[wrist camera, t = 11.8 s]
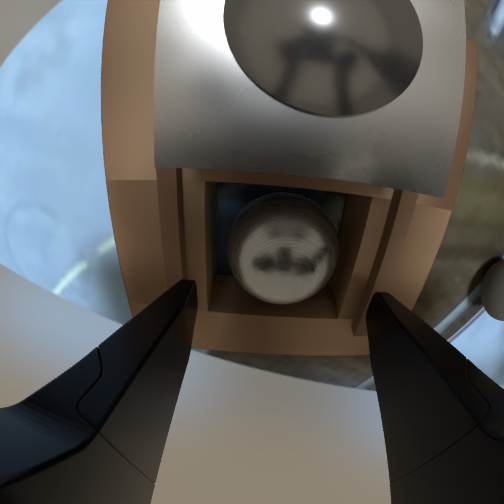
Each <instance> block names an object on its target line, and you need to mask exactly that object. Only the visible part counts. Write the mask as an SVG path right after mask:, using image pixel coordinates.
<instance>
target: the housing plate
mask: <svg viewBox="0 0 504 504" xmlns="http://www.w3.org/2000/svg"><path fill="white" fill-rule="evenodd" d="M159 5H160V0H108V2H107V9H106V17H105V26H104V36H103V49H102V67H101V122H102V142H103V155H104V167H105V177H106V185H107V193H108V201H109V208H110V215H111V221H112V227H113V233H114V238H115V244H116V249H117V254H118V259H119V263H120V268H121V273H122V277H123V281H124V285H125V290H126V294H127V298H128V301H129V305H130V309H131V313H132V316H133V317H134V316H135V315H137V314H138V313H139V312H140V311H142V310H143V309H144V308H145V307H147V306H148V305H149V304H150V303H152V302H153V301H154V300H155V299H157V298H158V297H159V296H160V295H162V294H163V293H164V292H165V291H167V290H168V289H169V288H170V287H172V286H173V285H174V284H176V283H177V282H178V281H179V280H181V279H189V280H195V281H196V284H197V298H198V309H197V315H196V321H195V327H194V333H193V339H192V346H191V347H192V348H200V349H210V350H219V351H230V352H243V353H257V354H275V355H306V356H347V355H370V352H369V343H368V335H367V327H366V312H367V309H368V307H369V304H370V301H371V299H372V296H373V294H374V293H375V292H388V293H390V294H391V295H392V296H393V297H395V298H396V299H397V300H398V301H400V302H401V303H402V304H403V305H405V306H406V307H407V308H408V309H410V310H411V311H412V309H413V307H414V305H415V303H416V301H417V299H418V297H419V294H420V292H421V290H422V288H423V286H424V283H425V281H426V279H427V277H428V274H429V272H430V269H431V267H432V265H433V262H434V260H435V257H436V255H437V252H438V249H439V247H440V244H441V241H442V238H443V236H444V233H445V230H446V227H447V224H448V221H449V218H450V215H451V212H452V208H453V205H454V202H455V198H456V195H457V191H458V188H459V184H460V180H461V176H462V172H463V168H464V163H465V159H466V154H467V149H468V144H469V139H470V133H471V127H472V120H473V113H474V105H475V96H476V84H477V67H478V45H477V44H476V43H474V42H472V41H471V40H469V39H467V38H466V61H465V79H464V91H463V100H462V109H461V116H460V123H459V129H458V135H457V141H456V146H455V151H454V156H453V161H452V165H451V169H450V174H449V178H448V182H447V186H446V189H445V193H444V197H443V198H439V197H435V196H430V195H425V194H420V193H415V192H410V191H404V190H399V189H393V188H388V187H382V186H376V185H369V184H363V183H356V182H349V181H342V180H334V179H327V178H318V177H309V176H300V175H290V174H279V173H268V172H254V171H239V170H220V169H192V168H155V165H154V131H153V98H154V66H155V48H156V35H157V23H158V13H159ZM217 182H231V183H247V184H261V185H274V186H285V187H296V188H306V189H315V190H324V191H333V192H341V193H348V195H347V200H346V205H345V210H344V214H343V219H342V224H341V228H340V233H339V237H338V243H339V254H338V260H337V264H336V267H335V270H334V272H333V274H332V276H331V278H330V279H329V281H328V282H327V283H326V285H325V286H324V287H323V288H322V289H321V290H320V291H318V292H317V293H316V294H315V295H313V296H312V297H310V298H308V299H306V300H303V301H300V302H297V303H292V304H273V303H268V302H265V301H262V300H260V299H258V298H256V297H254V296H253V295H251V294H250V293H248V292H247V291H246V290H245V289H244V288H243V287H242V286H241V285H240V284H239V282H238V281H237V280H236V278H235V277H234V276H231V275H218V274H216V197H217Z"/></svg>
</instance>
